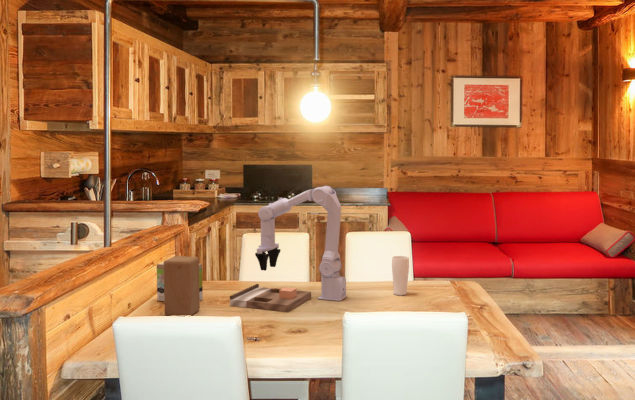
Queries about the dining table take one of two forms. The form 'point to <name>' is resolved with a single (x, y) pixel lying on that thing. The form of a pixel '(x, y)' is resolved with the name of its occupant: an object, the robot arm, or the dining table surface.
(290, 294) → the terracotta block
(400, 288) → the drinking glass
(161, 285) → the tea box
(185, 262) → the wooden block
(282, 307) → the trap board
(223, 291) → the dining table surface
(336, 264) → the robot arm
